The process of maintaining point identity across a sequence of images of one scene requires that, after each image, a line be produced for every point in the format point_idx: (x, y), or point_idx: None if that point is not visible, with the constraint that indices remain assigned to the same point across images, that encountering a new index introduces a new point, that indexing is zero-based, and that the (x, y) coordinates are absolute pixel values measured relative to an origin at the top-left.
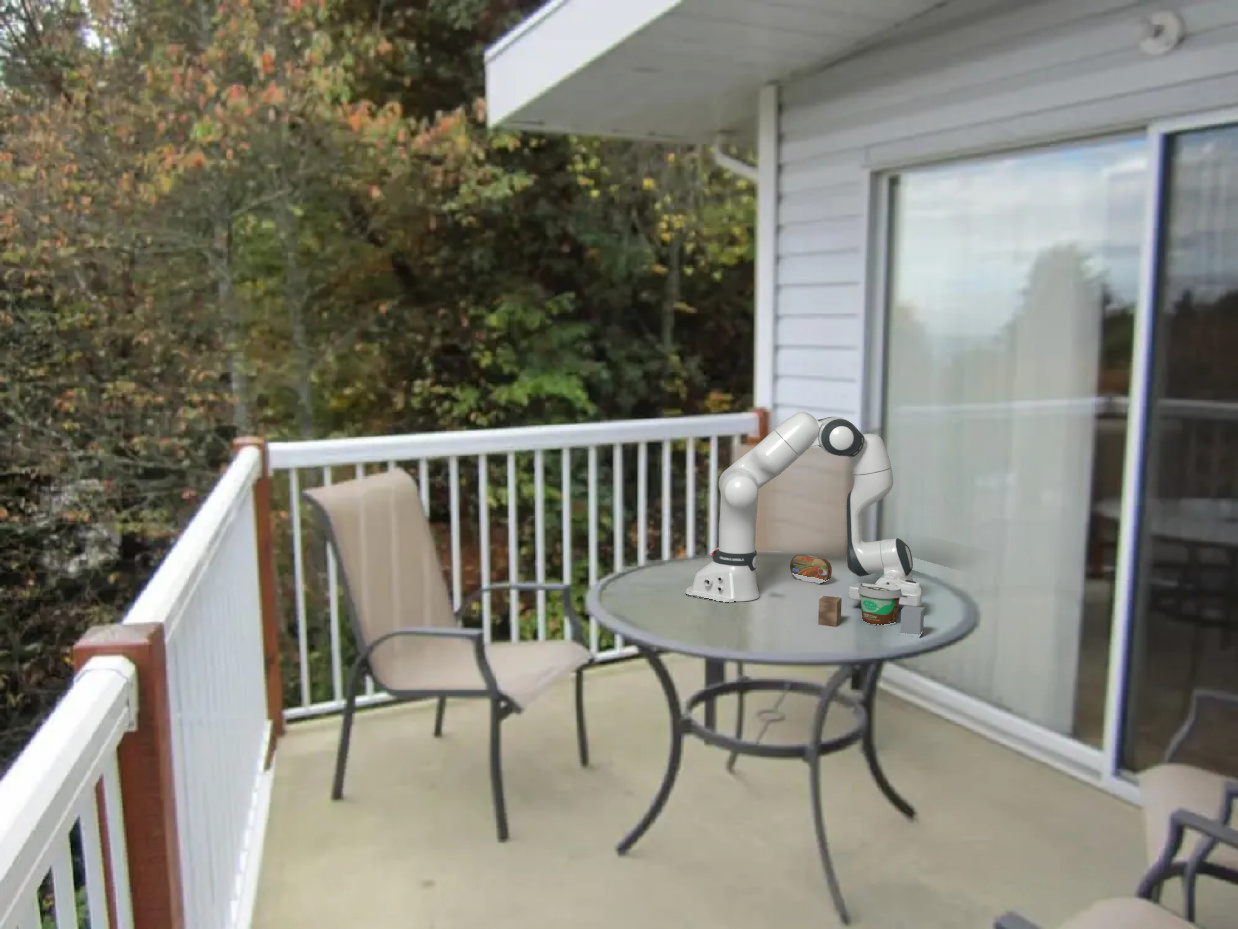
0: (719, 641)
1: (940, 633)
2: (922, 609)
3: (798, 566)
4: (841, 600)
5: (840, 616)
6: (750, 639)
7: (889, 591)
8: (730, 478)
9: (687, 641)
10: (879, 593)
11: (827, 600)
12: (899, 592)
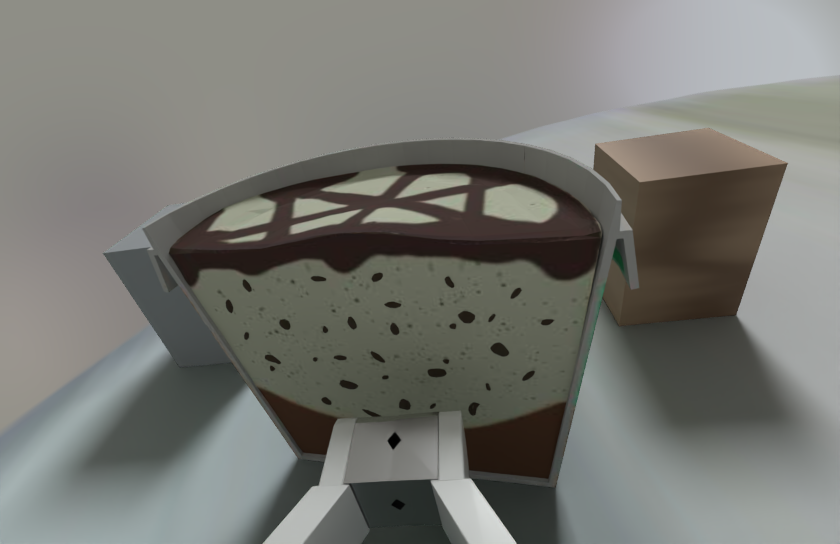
0: (738, 104)
1: (81, 404)
2: (134, 230)
3: None
4: (635, 199)
5: (617, 283)
6: (699, 126)
7: (275, 174)
8: None
9: (788, 86)
10: (356, 167)
11: (659, 137)
12: (182, 231)
